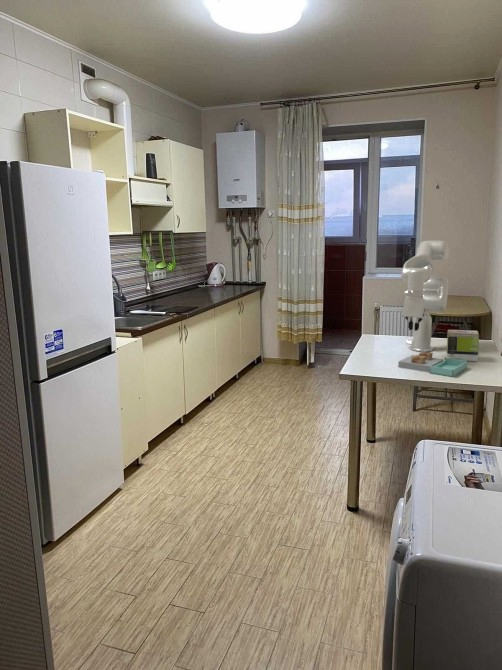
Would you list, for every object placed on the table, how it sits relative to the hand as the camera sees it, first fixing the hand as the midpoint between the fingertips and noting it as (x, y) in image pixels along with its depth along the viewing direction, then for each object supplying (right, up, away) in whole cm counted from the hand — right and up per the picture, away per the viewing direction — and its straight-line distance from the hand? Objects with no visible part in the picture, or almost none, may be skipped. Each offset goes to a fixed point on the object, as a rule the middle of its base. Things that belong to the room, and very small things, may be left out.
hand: (413, 329), depth 263 cm
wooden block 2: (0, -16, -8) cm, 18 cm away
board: (+2, -18, -4) cm, 19 cm away
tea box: (+28, -15, +9) cm, 33 cm away
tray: (+13, -20, -13) cm, 27 cm away
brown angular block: (+6, -15, -2) cm, 16 cm away
